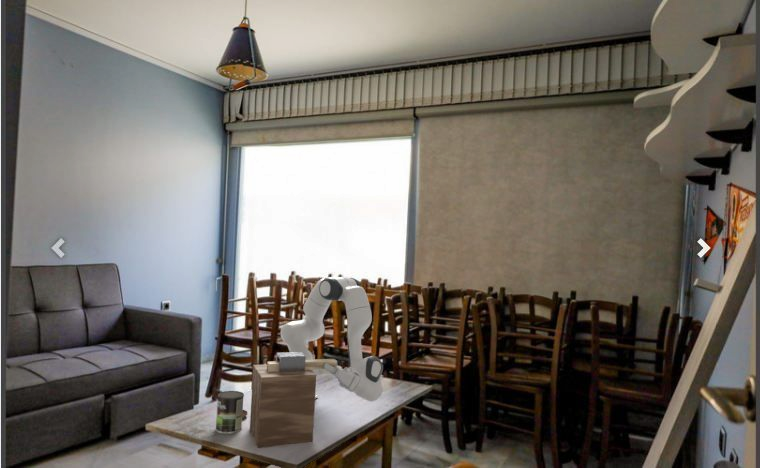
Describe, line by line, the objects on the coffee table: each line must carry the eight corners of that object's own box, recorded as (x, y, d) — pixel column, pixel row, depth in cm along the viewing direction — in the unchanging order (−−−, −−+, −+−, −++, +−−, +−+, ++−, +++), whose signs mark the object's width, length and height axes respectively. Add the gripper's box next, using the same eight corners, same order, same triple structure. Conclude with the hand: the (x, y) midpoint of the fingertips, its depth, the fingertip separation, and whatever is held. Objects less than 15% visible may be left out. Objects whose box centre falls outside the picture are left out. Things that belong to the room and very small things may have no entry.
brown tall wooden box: (249, 429, 203) (253, 365, 203) (300, 424, 211) (303, 362, 212) (257, 448, 184) (261, 377, 185) (312, 442, 192) (316, 374, 193)
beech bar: (266, 369, 198) (267, 361, 198) (333, 365, 208) (334, 358, 209) (268, 371, 194) (269, 363, 194) (336, 368, 205) (337, 360, 205)
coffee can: (223, 436, 194) (225, 399, 194) (211, 428, 201) (213, 393, 202) (246, 430, 201) (248, 395, 202) (234, 423, 209) (236, 389, 209)
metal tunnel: (275, 367, 201) (276, 352, 201) (300, 366, 205) (300, 351, 205) (279, 372, 194) (280, 356, 194) (304, 371, 198) (305, 355, 198)
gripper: (344, 365, 219) (319, 351, 215) (361, 377, 200) (333, 361, 196) (337, 378, 218) (311, 364, 213) (353, 391, 199) (325, 376, 194)
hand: (322, 362), depth 204 cm, fingers open, 5 cm apart
